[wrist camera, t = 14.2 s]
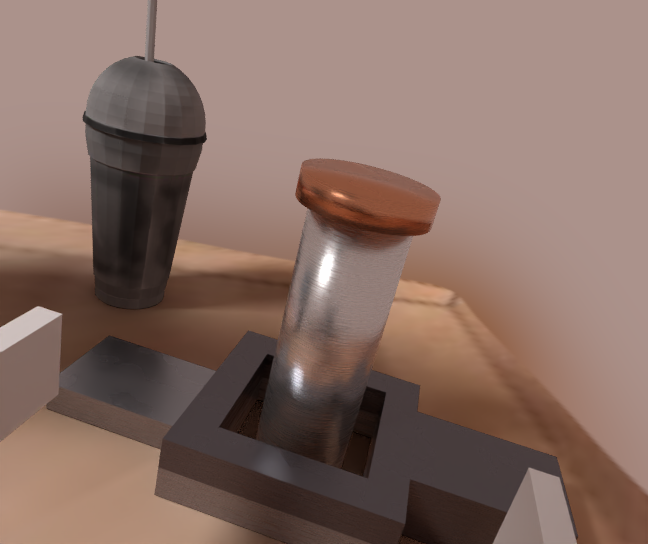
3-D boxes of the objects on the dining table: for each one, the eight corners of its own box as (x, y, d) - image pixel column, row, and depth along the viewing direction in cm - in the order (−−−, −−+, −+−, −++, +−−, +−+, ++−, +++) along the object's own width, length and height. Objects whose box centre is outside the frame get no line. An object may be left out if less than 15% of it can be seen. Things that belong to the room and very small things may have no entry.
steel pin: (219, 435, 27) (274, 154, 22) (309, 409, 31) (375, 162, 25) (280, 519, 23) (364, 204, 18) (375, 479, 27) (469, 205, 21)
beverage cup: (196, 284, 41) (240, -4, 34) (162, 330, 35) (207, -18, 27) (102, 262, 41) (125, -32, 34) (50, 302, 35) (63, -53, 27)
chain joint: (7, 440, 24) (7, 383, 23) (131, 338, 33) (136, 294, 32) (560, 643, 21) (592, 590, 20) (527, 469, 30) (548, 426, 29)
